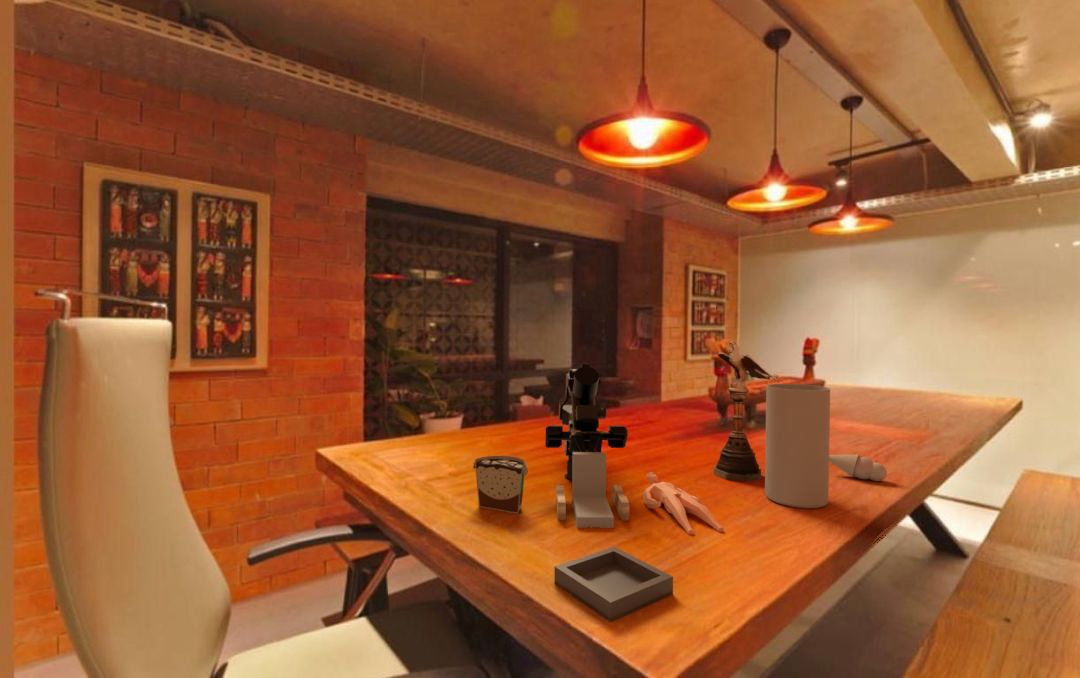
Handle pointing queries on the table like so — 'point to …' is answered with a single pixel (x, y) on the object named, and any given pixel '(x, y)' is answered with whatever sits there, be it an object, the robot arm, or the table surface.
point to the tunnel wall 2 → (621, 502)
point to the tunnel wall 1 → (560, 502)
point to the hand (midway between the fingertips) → (588, 469)
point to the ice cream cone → (859, 466)
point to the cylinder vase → (797, 445)
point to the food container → (500, 482)
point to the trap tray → (613, 582)
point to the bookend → (590, 490)
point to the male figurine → (677, 503)
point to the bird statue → (740, 421)
